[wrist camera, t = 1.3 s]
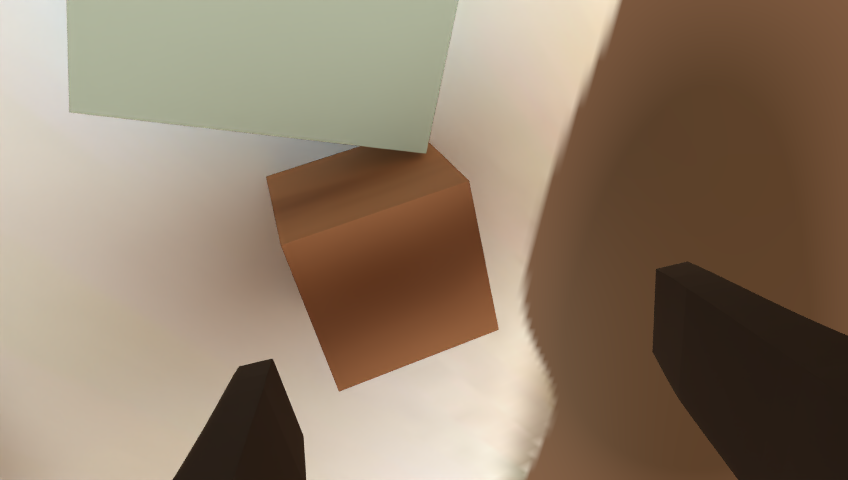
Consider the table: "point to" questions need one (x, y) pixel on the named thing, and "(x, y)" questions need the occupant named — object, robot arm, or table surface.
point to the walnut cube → (383, 257)
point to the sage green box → (265, 66)
